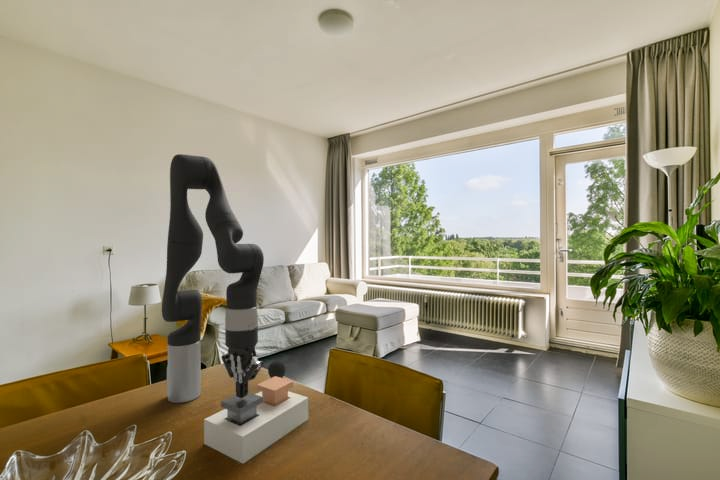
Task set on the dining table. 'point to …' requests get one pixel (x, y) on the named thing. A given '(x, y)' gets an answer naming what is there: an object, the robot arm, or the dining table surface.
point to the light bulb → (276, 369)
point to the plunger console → (255, 428)
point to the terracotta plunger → (275, 390)
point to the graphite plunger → (241, 408)
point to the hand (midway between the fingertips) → (242, 396)
